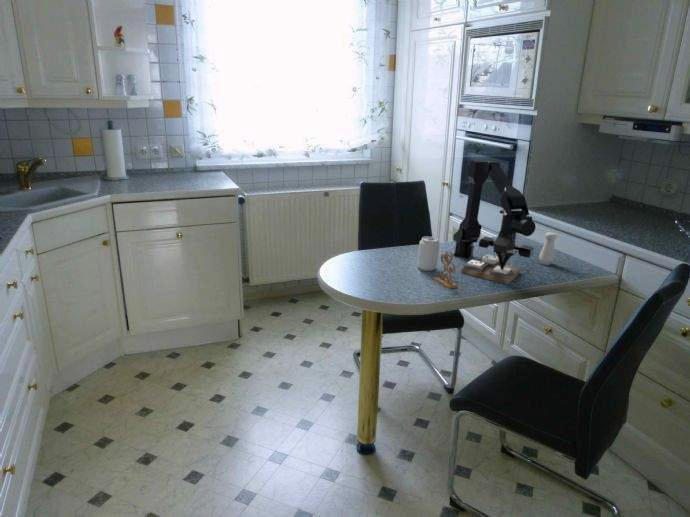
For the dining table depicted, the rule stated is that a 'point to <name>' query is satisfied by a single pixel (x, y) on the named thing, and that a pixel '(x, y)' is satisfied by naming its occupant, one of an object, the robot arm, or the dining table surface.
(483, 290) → the dining table surface
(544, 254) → the salt shaker
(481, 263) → the tile three
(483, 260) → the tile two
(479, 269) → the board
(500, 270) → the tile one
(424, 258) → the can
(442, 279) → the figurine on base
